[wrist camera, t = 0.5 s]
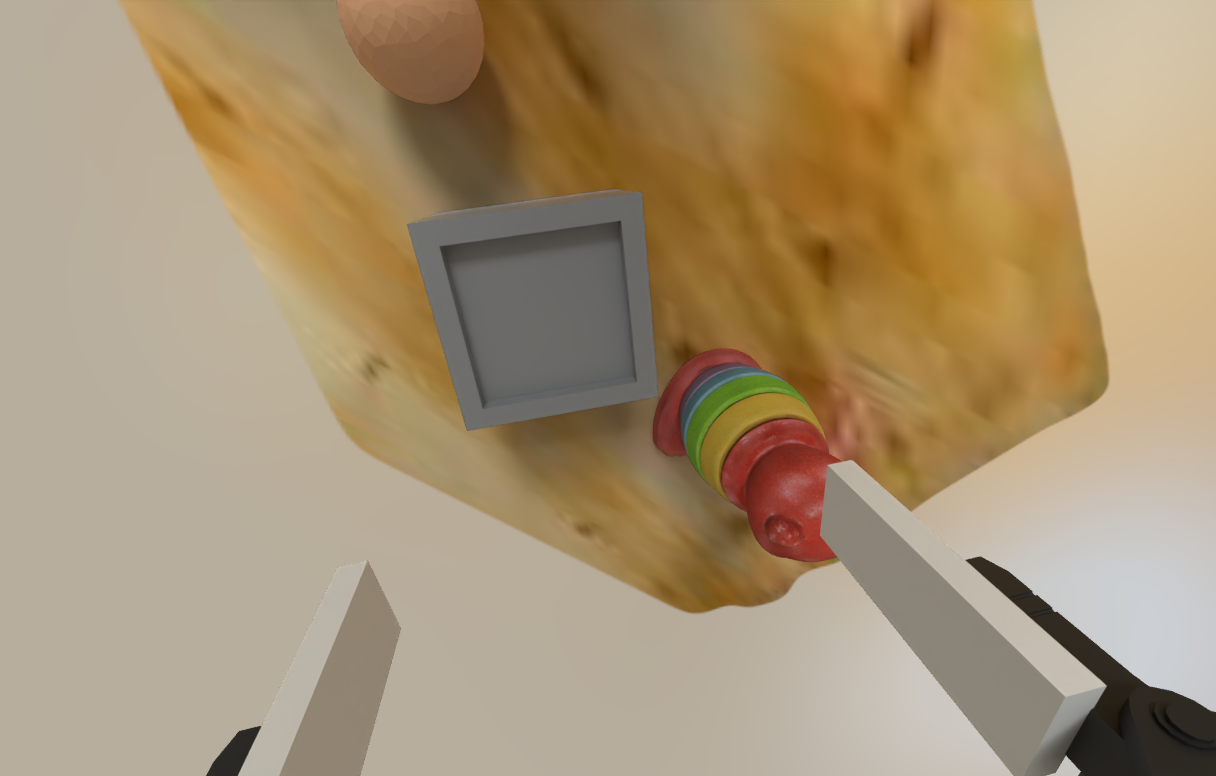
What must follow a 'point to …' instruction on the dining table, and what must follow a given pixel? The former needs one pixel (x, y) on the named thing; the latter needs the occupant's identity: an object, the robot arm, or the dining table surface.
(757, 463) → the stacking bear
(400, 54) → the egg
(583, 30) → the dining table surface
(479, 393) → the grey square tray
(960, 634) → the robot arm
